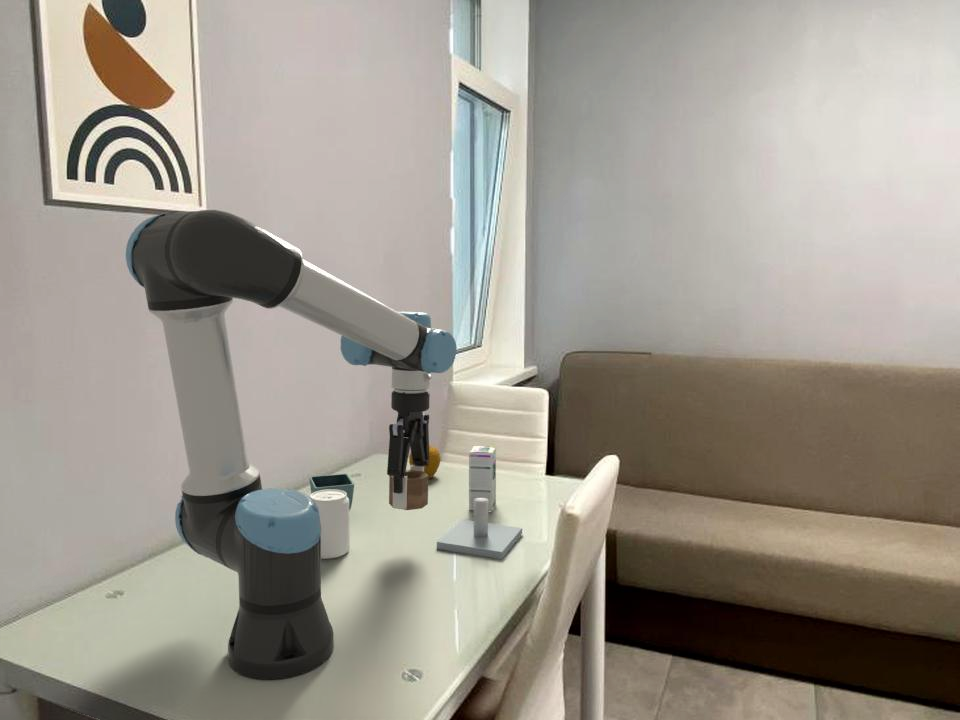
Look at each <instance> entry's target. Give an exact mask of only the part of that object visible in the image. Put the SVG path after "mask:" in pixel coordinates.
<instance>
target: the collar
mask: <svg viewBox="0 0 960 720" xmlns="http://www.w3.org/2000/svg"><path fill="white" fill-rule="evenodd" d="M405 476H407V509H405V510H404V509H402V510H403V511H412V510H421V509H423V508H425V507H426V506H427V505H429V479H428V475H427V474H426V473H425V472H423V471H416V470H411V469H406V472H405ZM388 477H389V484H388V491H389V493H388V504H389V505H390V506H391V507H392V508H393V476H389V475H388ZM395 509H396V510H397V509H398V508H395Z"/></svg>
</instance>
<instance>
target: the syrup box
mask: <svg viewBox="0 0 960 720" xmlns="http://www.w3.org/2000/svg"><path fill="white" fill-rule="evenodd" d="M496 459H497V448H496V447H494V446H487V445H475V446H474V445H473V447H472V448H471V449H470V451H469V452H468V509H469V511H471V510H474V499H476V498H486V499H488V511H492V510H493V511H494V509H495V507H494V506H496V504H497V499H496V497H497V494H496V493H497V490H496V489H497V460H496ZM493 508H494V509H493ZM493 511H492V512H493Z"/></svg>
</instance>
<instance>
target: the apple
mask: <svg viewBox="0 0 960 720" xmlns="http://www.w3.org/2000/svg"><path fill="white" fill-rule="evenodd" d="M440 455H441V454H440V451H439V450H438V448H436V446H433V445H429V460H428V461H429V465H428V466H424V472H425V473H426V474H427V475H428V478H429V479H432V478H433V477H434V476H435V475H436V473H437V472H438V469H439V466H440V464H441V456H440ZM426 461H427V460H426ZM408 463H409V466H410V467H411V466H412V465H415V464H413V461H412V454H411V452H409V455H408ZM431 477H432V478H431Z"/></svg>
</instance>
